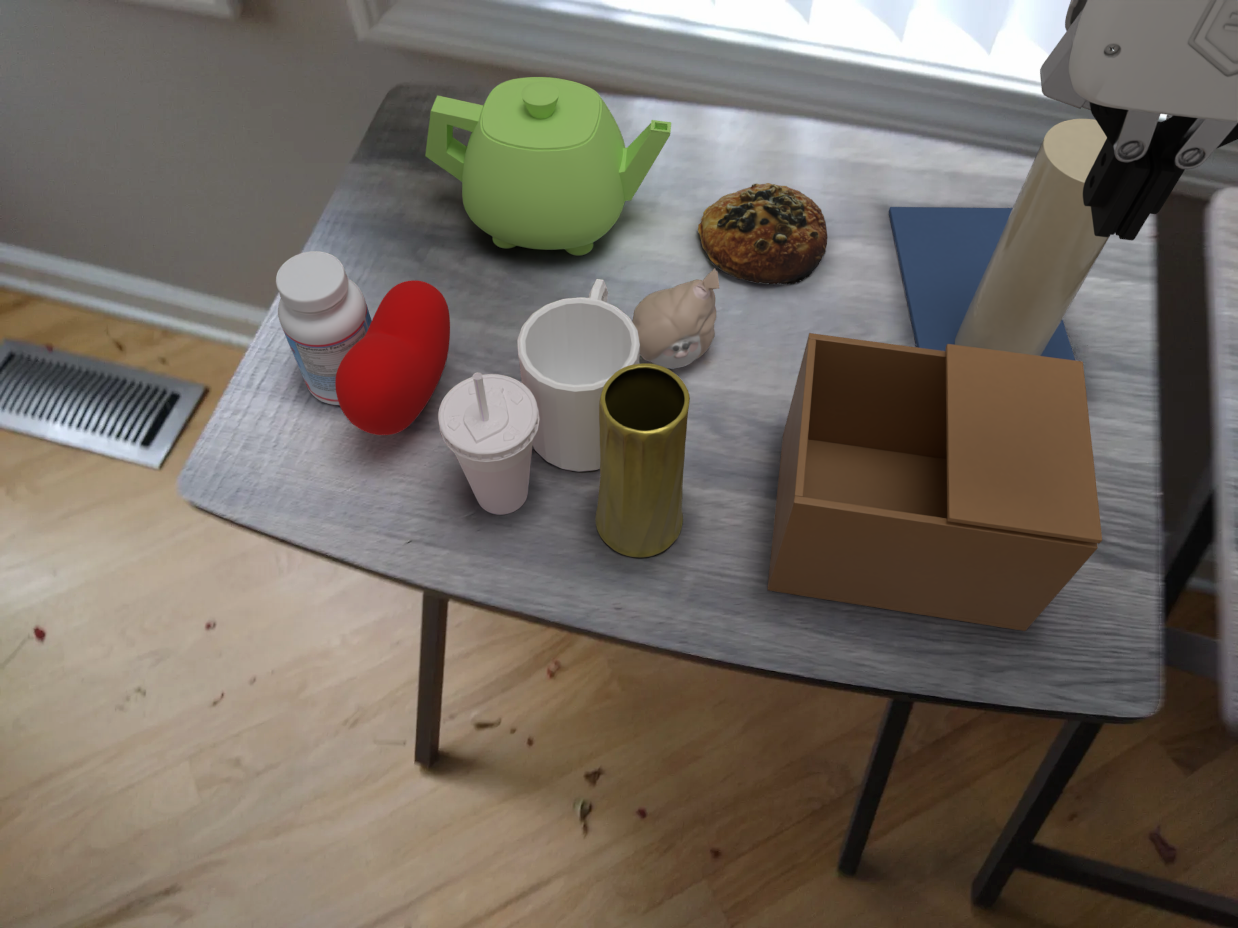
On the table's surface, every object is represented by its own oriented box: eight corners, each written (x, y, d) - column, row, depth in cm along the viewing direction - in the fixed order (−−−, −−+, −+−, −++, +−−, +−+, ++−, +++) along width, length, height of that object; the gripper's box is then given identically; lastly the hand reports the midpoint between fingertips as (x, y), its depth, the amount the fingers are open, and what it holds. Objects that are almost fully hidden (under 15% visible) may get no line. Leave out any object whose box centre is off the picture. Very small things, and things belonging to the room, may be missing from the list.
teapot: (672, 175, 89) (680, 49, 78) (656, 284, 81) (663, 161, 71) (454, 155, 90) (433, 29, 79) (420, 260, 83) (392, 137, 72)
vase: (583, 543, 68) (577, 423, 56) (612, 473, 71) (612, 345, 59) (667, 569, 67) (680, 453, 55) (693, 496, 70) (710, 371, 58)
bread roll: (792, 308, 80) (795, 258, 76) (674, 267, 84) (672, 219, 80) (851, 231, 85) (856, 182, 81) (737, 197, 90) (738, 148, 86)
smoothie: (444, 520, 69) (410, 400, 57) (473, 447, 72) (447, 319, 61) (532, 539, 68) (516, 421, 56) (557, 464, 71) (547, 338, 60)
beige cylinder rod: (1054, 352, 77) (1170, 156, 61) (1003, 394, 74) (1110, 201, 59) (988, 305, 79) (1083, 105, 64) (937, 344, 77) (1022, 147, 61)
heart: (409, 485, 70) (382, 401, 62) (342, 463, 71) (306, 377, 63) (477, 365, 76) (461, 274, 68) (414, 346, 77) (390, 254, 69)
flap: (1080, 365, 62) (1083, 361, 61) (1099, 543, 55) (1102, 540, 54) (945, 347, 62) (947, 343, 62) (947, 521, 55) (949, 517, 55)
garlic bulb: (705, 390, 75) (714, 320, 69) (623, 376, 76) (624, 305, 69) (717, 325, 79) (727, 253, 72) (639, 313, 79) (642, 240, 73)
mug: (653, 354, 77) (659, 264, 69) (624, 480, 71) (626, 398, 62) (554, 338, 78) (547, 247, 70) (516, 462, 72) (503, 378, 63)
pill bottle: (318, 344, 77) (278, 239, 68) (394, 350, 77) (364, 245, 68) (297, 406, 74) (252, 304, 65) (377, 412, 74) (342, 311, 64)
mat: (1082, 395, 75) (1085, 390, 75) (925, 393, 75) (927, 388, 75) (1024, 213, 86) (1027, 207, 86) (888, 211, 86) (889, 206, 86)
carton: (1016, 467, 72) (1079, 368, 62) (1025, 631, 65) (1098, 548, 55) (782, 434, 73) (809, 332, 63) (767, 590, 66) (793, 502, 56)
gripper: (1126, -219, 28) (941, 255, 43) (1703, -171, 26) (1300, 300, 42) (1101, -324, 32) (940, 143, 47) (1600, -287, 30) (1267, 181, 46)
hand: (1110, 216), depth 44 cm, fingers closed
